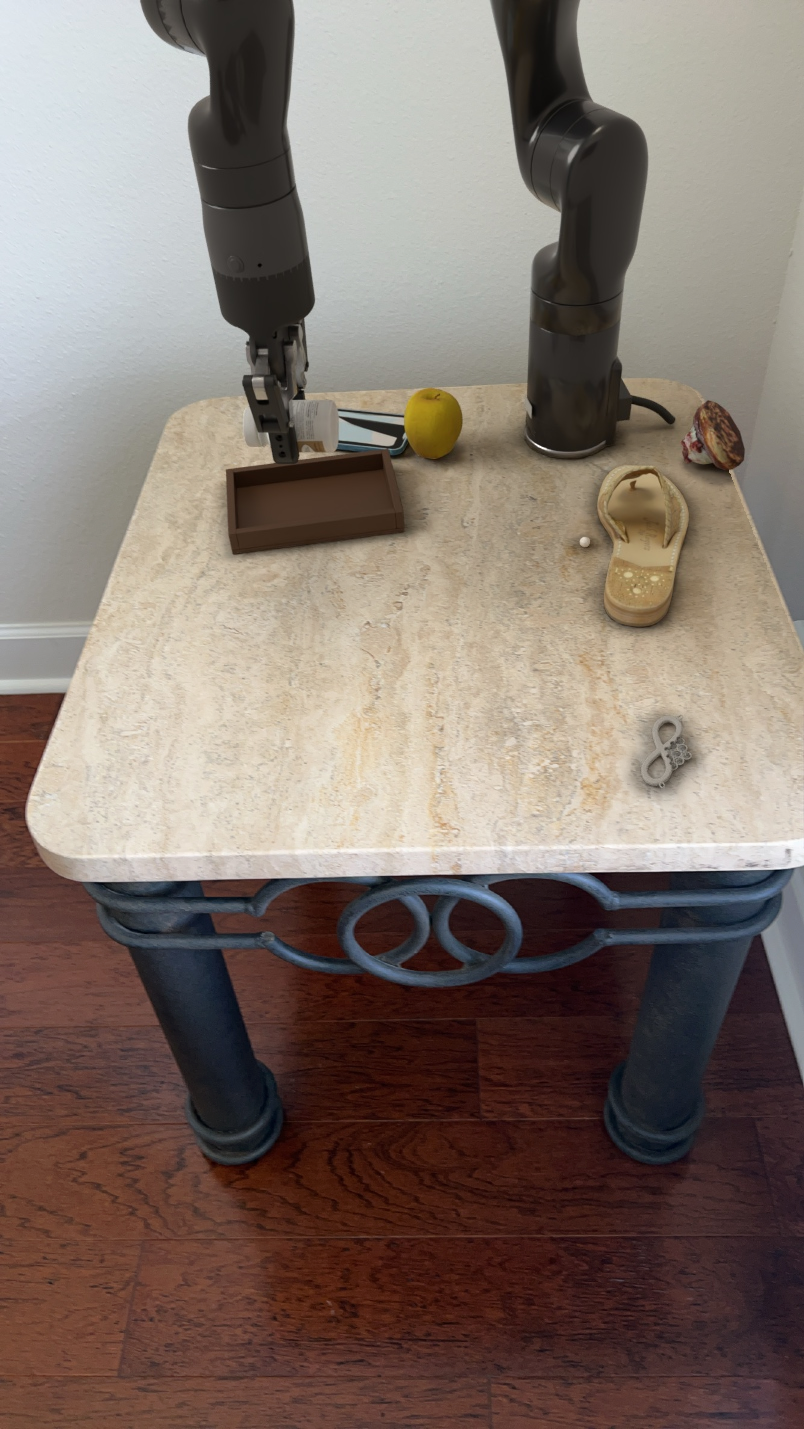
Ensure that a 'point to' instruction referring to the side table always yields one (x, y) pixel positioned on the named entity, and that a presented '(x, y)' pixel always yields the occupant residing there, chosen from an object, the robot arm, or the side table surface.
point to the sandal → (641, 542)
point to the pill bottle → (303, 426)
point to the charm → (666, 751)
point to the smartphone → (371, 431)
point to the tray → (312, 501)
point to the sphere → (585, 543)
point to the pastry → (713, 438)
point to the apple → (432, 422)
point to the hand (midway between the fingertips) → (292, 444)
